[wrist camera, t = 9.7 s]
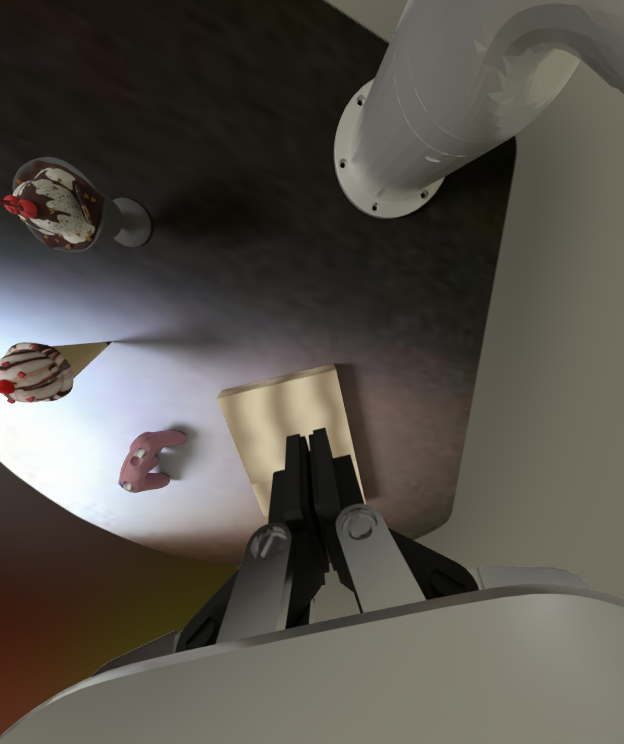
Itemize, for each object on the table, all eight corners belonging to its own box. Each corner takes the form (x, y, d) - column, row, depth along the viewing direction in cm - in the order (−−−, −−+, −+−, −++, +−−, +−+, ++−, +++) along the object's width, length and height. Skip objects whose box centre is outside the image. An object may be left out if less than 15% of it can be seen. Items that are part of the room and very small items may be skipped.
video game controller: (169, 417, 43) (123, 433, 36) (191, 435, 42) (148, 454, 35) (151, 467, 46) (106, 490, 39) (171, 484, 45) (128, 511, 38)
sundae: (87, 232, 32) (-72, 209, 18) (110, 174, 31) (-47, 100, 17) (144, 267, 34) (37, 271, 20) (169, 215, 32) (71, 178, 18)
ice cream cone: (100, 309, 35) (-29, 340, 21) (143, 337, 37) (49, 383, 23) (80, 345, 37) (-52, 396, 23) (123, 370, 38) (23, 433, 24)
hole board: (333, 363, 39) (336, 369, 37) (363, 495, 48) (366, 507, 46) (221, 390, 40) (216, 398, 38) (270, 515, 49) (269, 528, 46)
